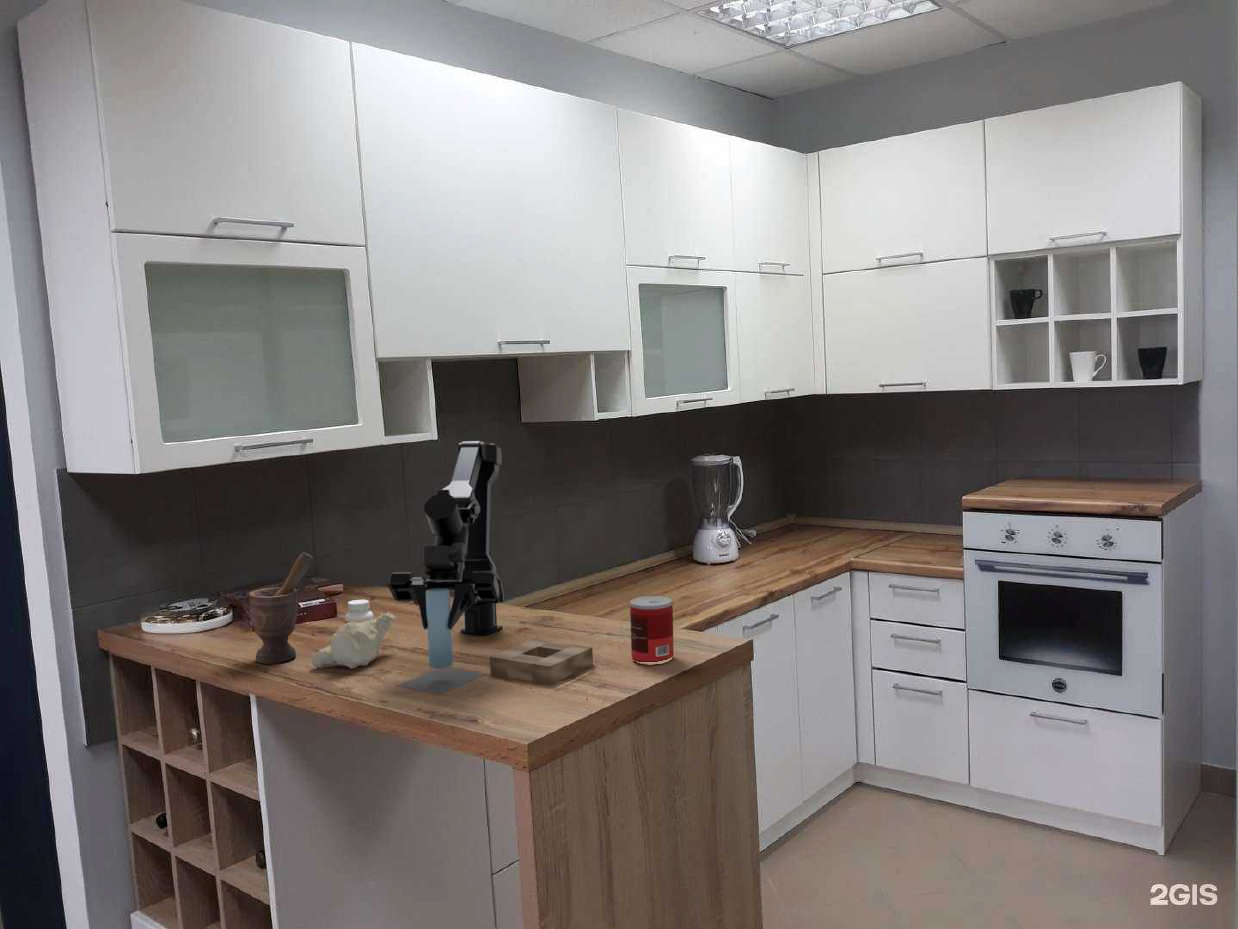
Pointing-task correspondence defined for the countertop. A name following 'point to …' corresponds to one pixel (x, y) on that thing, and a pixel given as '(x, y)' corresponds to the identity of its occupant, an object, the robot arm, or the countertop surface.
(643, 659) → the canned food
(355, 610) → the supplement bottle
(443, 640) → the light blue cylinder
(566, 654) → the block
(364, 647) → the cream lumpy knobby chunk
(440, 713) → the countertop surface
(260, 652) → the mortar and pestle
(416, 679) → the mat
